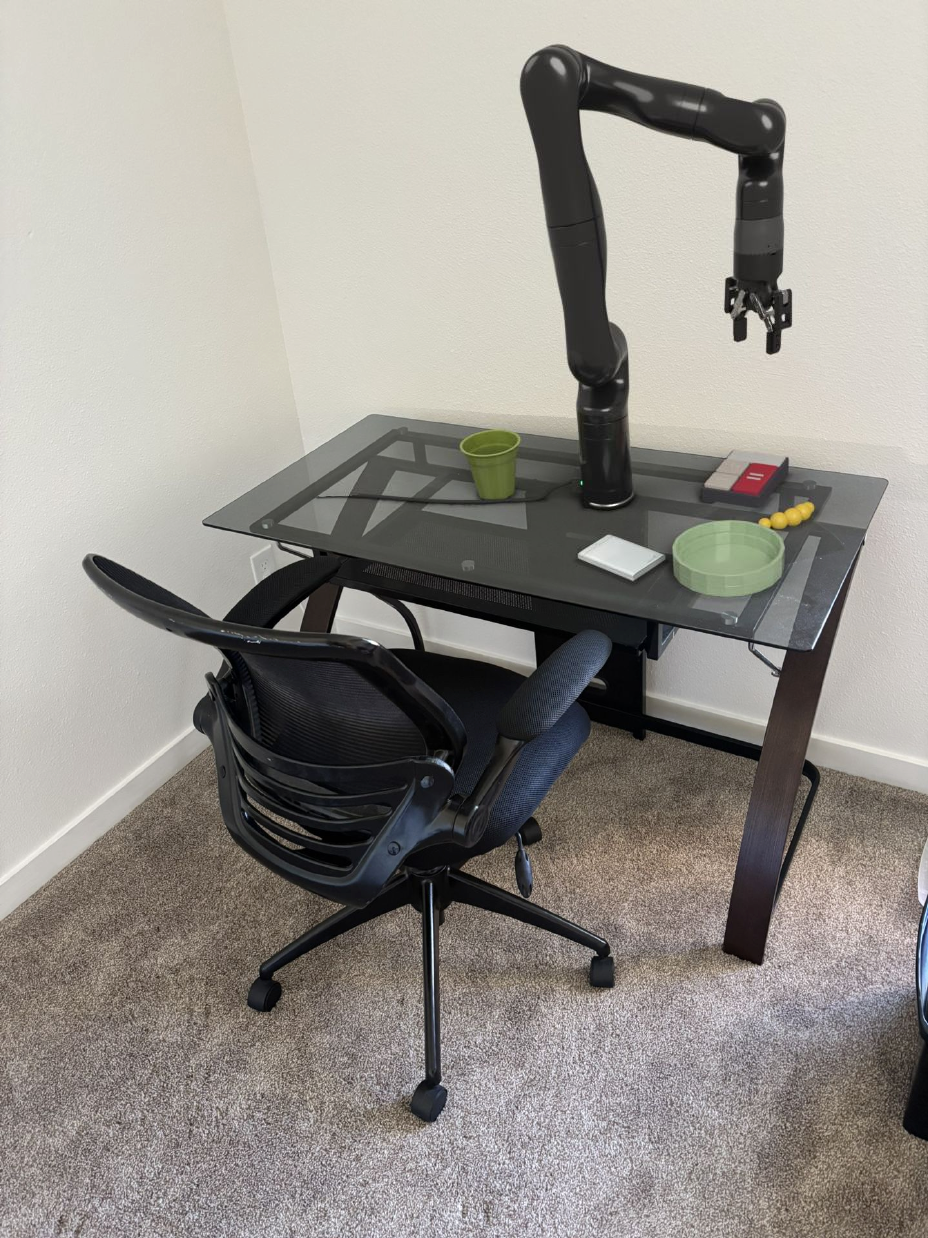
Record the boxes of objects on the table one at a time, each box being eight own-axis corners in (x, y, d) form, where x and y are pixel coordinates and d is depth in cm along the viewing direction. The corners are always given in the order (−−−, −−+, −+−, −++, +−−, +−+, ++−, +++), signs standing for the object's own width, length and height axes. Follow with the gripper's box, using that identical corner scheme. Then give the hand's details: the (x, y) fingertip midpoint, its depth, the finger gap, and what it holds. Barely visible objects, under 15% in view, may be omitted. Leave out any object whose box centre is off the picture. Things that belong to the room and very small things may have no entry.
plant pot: (482, 514, 182) (473, 461, 176) (459, 491, 192) (450, 440, 185) (537, 495, 185) (530, 443, 179) (512, 474, 194) (505, 423, 188)
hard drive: (665, 553, 157) (609, 532, 166) (632, 575, 153) (577, 552, 162) (665, 562, 158) (610, 540, 166) (633, 584, 154) (578, 560, 163)
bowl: (676, 603, 148) (676, 579, 145) (670, 547, 162) (669, 524, 159) (791, 596, 144) (792, 571, 142) (774, 539, 158) (775, 516, 156)
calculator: (699, 484, 171) (732, 445, 180) (700, 504, 173) (732, 465, 182) (759, 493, 165) (789, 453, 174) (759, 514, 167) (789, 473, 176)
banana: (770, 539, 159) (771, 522, 157) (754, 529, 162) (755, 513, 160) (826, 518, 162) (827, 501, 160) (809, 509, 165) (810, 492, 163)
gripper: (710, 243, 151) (711, 342, 160) (767, 258, 140) (764, 363, 149) (749, 232, 153) (748, 331, 162) (809, 246, 142) (803, 351, 151)
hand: (756, 346), depth 156 cm, fingers open, 8 cm apart
